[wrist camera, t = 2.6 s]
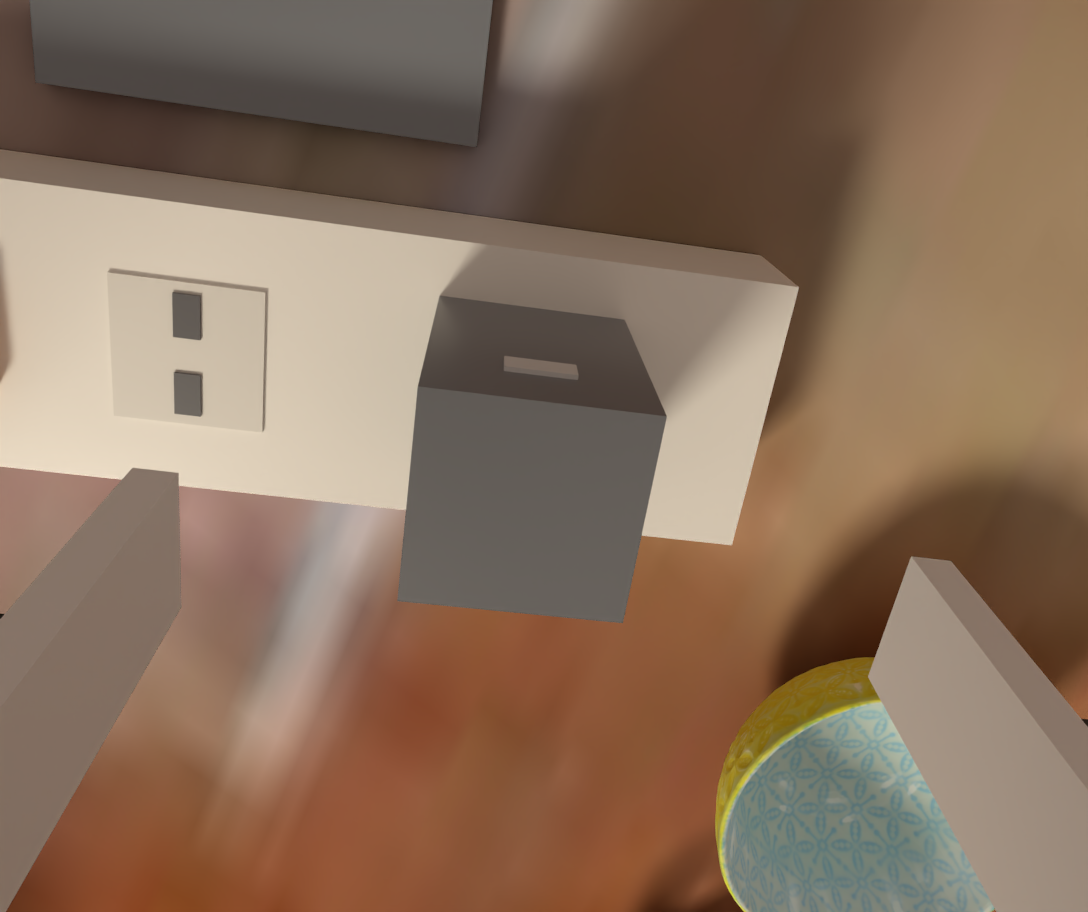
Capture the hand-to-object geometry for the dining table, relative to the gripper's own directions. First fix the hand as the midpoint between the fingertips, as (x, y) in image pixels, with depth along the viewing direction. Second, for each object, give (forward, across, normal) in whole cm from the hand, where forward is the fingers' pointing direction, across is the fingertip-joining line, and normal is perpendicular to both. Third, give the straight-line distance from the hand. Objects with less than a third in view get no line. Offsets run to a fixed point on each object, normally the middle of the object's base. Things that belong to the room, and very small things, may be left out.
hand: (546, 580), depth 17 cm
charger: (+12, 0, 0) cm, 12 cm away
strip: (+14, -9, 0) cm, 16 cm away
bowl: (+14, +14, -13) cm, 24 cm away
